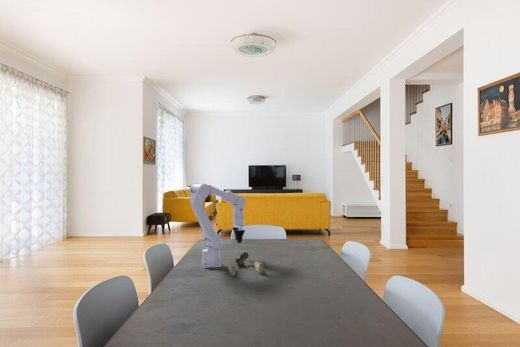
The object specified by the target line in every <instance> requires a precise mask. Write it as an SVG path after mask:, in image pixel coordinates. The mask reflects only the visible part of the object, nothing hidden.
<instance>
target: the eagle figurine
mask: <svg viewBox="0 0 520 347" xmlns="http://www.w3.org/2000/svg"><path fill="white" fill-rule="evenodd" d="M249 256H250V255H249V253H248V252H246V251H245V252H243V253H241V254H240V255H239V257H238V256H237V257H235V258H234V259H233V262H234V263H237V265H238V268H241V267H242V265H243V266H246V260H247V259H248V258H249Z"/></svg>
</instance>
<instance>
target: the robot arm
mask: <svg viewBox="0 0 520 347" xmlns="http://www.w3.org/2000/svg"><path fill="white" fill-rule="evenodd" d="M189 194H190V206H191V209H192V211H193V213H194V215H195V217H196V219H197V221H198V224H199V226H200V228H201V230H202V232H203V235H202V237H203V244H204V245H205V246H206V247H205V248H202V260H201V264H202V268H203V269H208V268H209V269H210V268H222V267H223V266H222V263H221V250H222V247H223V246H224V241H223V238H222V237H221V236H220V235H219V233H218V232H217V231H215V229H214V227H213V224H212V222H211V220H210V218H209V216H208V214H207V211H206V209H205V207H204V205H203V204H204V201H205V200H206V198H208V196H209V195H214V196H216V197H220V198H221V199H222V201H224V202H226V203H229V204H231V205H232V208H233V209H232V211H233V212H232V213H233V216H232V218H233V224H232V230H233V232H234V237H235V241H237V243H238V244H241V243H242V241H243V238H244V234H245V232H246V230H245V229H243V228H244V227H245V226H247V225H246V224H244V222H245V221H244V217H245V215H244V210H245V209H244V208H245V205H246V202H247V201H246V198H245V197H244V196H243V195H239V194H238V193H233V192H232V190H225V191H224V190H221V189H219V188H217V187H215V186H213V185H210V184H207V183H202V184H200V183H194V184H192V185H191V186H190V189H189Z"/></svg>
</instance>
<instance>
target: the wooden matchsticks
mask: <svg viewBox="0 0 520 347" xmlns="http://www.w3.org/2000/svg"><path fill="white" fill-rule="evenodd" d="M253 266H254V268H255V271H256V272H257V273H258V275H260V276H261V275H264V263H263V262H259V261H258V260H254V264H253ZM227 269H228V272H229V277H232V278H234V277H236V265H235V264H232V262H227Z"/></svg>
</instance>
